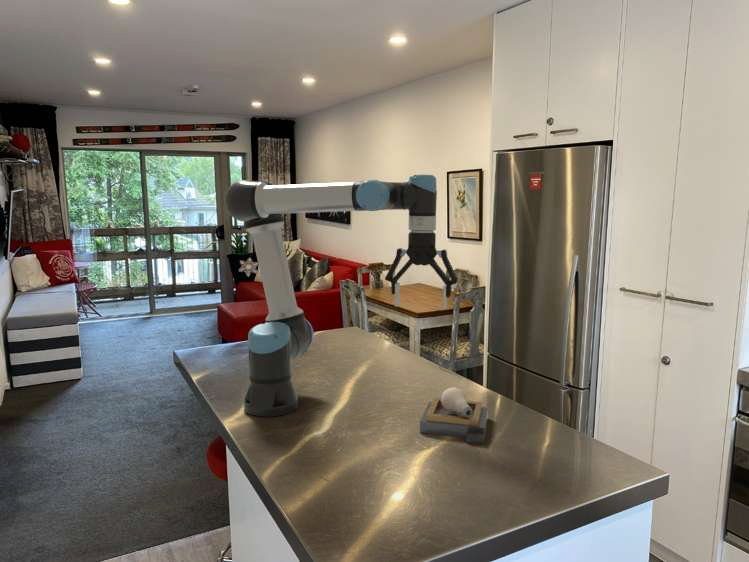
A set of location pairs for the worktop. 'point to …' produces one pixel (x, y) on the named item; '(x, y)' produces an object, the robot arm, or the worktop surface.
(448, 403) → the light bulb
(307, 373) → the worktop surface
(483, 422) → the grey brown-rimmed square tray
